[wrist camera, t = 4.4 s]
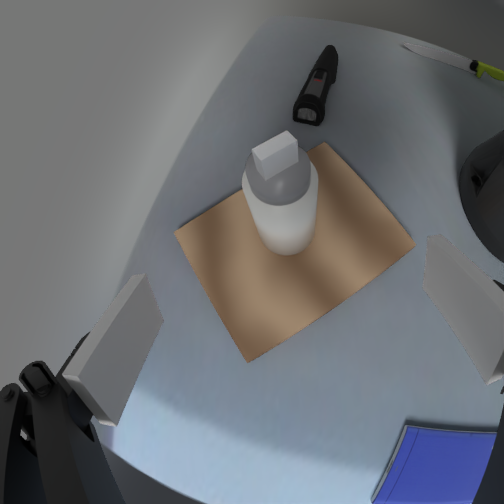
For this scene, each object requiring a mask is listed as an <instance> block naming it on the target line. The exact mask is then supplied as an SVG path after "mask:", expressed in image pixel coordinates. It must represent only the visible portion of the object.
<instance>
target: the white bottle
mask: <svg viewBox="0 0 504 504" xmlns="http://www.w3.org/2000/svg"><path fill="white" fill-rule="evenodd" d="M251 150H252V153H251V154H250V156H249V157H248V159H247V162H246V165H245V171H244V174H243V177H242V188H243V192H244V194H245V197H246V200H247V203H248V205H249V208H250V211H251V214H252V216H253V219H254V222H255V225H256V227H257V230H258V233H259V236H260V238H261V241H262V242H263V244H264V245H265V247H266V248H268V249H269V250H270V251H272V252H274V253H276V254H279V255H294V254H297V253H300V252H301V251H303V250H304V249H306V248H307V247H308V246H309V245H310V243H311V242H312V240H313V238H314V234H315V224H316V210H317V194H318V174H317V171H316V168H315V167H314V165H313V164H312V162H311V161H310V159H309V157H308V155H307V153H306V152H305V151H304V150H303V149H302V148H300V147H299V146H298V144H297V140H296V139H295V138H294V137H293V136H292V135H291V134H290V133H289V132H288V131H287V130H286V131H285V132H283V133H281V134H279V135H277V136H275V137H273V138H271V139H270V140H268V141H266V142H264V143H262V144H260V145H259V146H257V147H255V148H253V149H251Z"/></svg>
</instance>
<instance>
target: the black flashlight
mask: <svg viewBox="0 0 504 504" xmlns="http://www.w3.org/2000/svg"><path fill="white" fill-rule="evenodd" d="M337 65H338V54H337V51H336V49H335V47H334V46H332V45H328V46H326V48H325V49H324V51H323V52H322V54H321V55H320V57H319V58H318V60H317V62H316V64H315V65H314V67H313V69H312V71H311V72H310V74H309V77H308V79H307V81H306V83H305V85H304V87H303V88H302V90H301V92H300V94H299V96H298V99H297V101H296V102H295V104H294V107H293V120H294V121H295V122H299V123H304V124H309V125H314V126H318V125H319V124H320V123H322V121H323V119H324V115H325V106H324V105H325V101H326V97H327V94H328V90H329V88H330V85H331V84H333V83H335V80H336V73H337Z"/></svg>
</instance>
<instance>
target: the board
mask: <svg viewBox="0 0 504 504" xmlns="http://www.w3.org/2000/svg"><path fill="white" fill-rule="evenodd" d="M306 153H307V155H308V157H309V159H310V161H311V162H312V164H313V165H314V167H315V168H316V171H317V174H318V194H317V210H316V224H315V234H314V238H313V240H312V242H311V243H310V245H309V246H308V247H307V248H306V249H304V250H303V251H301V252H300V253H297V254H294V255H279V254H276V253H274V252H272V251H270V250H269V249H268V248H266V247H265V245H264V244H263V242H262V241H261V238H260V236H259V233H258V230H257V227H256V225H255V222H254V219H253V216H252V214H251V211H250V208H249V205H248V203H247V200H246V197H245V194H244V192H243V189H241V190H240V191H238V192H237V193H235V194H233V195H232V196H230V197H228V198H227V199H225V200H224V201H222V202H220V203H219V204H217V205H215V206H214V207H212V208H211V209H209V210H208V211H206V212H204V213H203V214H201V215H200V216H198V217H197V218H195V219H193V220H192V221H190V222H189V223H187V224H186V225H184V226H183V227H181V228H180V229H178V230H177V231H175V232H174V234H175V236H176V238H177V240H178V242H179V244H180V245H181V247H182V249H183V251H184V253H185V255H186V257H187V259H188V261H189V262H190V264H191V266H192V268H193V270H194V272H195V274H196V275H197V277H198V279H199V281H200V283H201V284H202V286H203V288H204V290H205V292H206V293H207V295H208V297H209V299H210V301H211V302H212V304H213V306H214V308H215V309H216V311H217V313H218V315H219V316H220V318H221V320H222V322H223V323H224V325H225V327H226V328H227V330H228V332H229V334H230V335H231V337H232V339H233V340H234V342H235V344H236V345H237V347H238V349H239V350H240V352H241V354H242V355H243V357H244V359H245V360H246V362H247V363H249V362H251V361H252V360H254V359H256V358H257V357H259V356H261V355H262V354H264V353H266V352H267V351H269V350H271V349H272V348H274V347H276V346H277V345H279V344H280V343H282V342H284V341H285V340H287V339H288V338H290V337H291V336H293V335H295V334H296V333H298V332H299V331H301V330H302V329H304V328H305V327H307V326H308V325H310V324H311V323H313V322H314V321H316V320H317V319H319V318H320V317H322V316H323V315H325V314H326V313H328V312H329V311H330V310H332V309H333V308H335V307H336V306H338V305H339V304H340V303H342V302H343V301H345V300H346V299H347V298H349V297H350V296H352V295H353V294H354V293H356V292H357V291H359V290H360V289H361V288H363V287H364V286H365V285H367V284H368V283H369V282H371V281H372V280H373V279H375V278H376V277H377V276H379V275H380V274H381V273H383V272H384V271H385V270H386V269H388V268H389V267H390V266H392V265H393V264H394V263H395V262H397V261H398V260H399V259H400V258H402V257H403V256H404V255H405V254H407V253H408V252H409V251H410V250H411V249H413V248H414V247H415V245H416V244H415V242H414V241H413V240H412V238H411V237H410V236H409V235H408V233H407V232H406V231H405V230H404V228H403V227H402V226H401V225H400V223H399V222H398V221H397V220H396V218H395V217H394V216H393V215H392V214H391V212H390V211H389V210H388V209H387V208H386V206H385V205H384V204H383V203H382V202H381V201H380V200H379V198H378V197H377V196H376V195H375V194H374V193H373V192H372V190H371V189H370V188H369V187H368V186H367V185H366V184H365V183H364V182H363V180H362V179H361V178H360V177H359V176H358V175H357V174H356V173H355V172H354V171H353V170H352V169H351V168H350V167H349V166H348V165H347V163H346V162H345V161H344V160H343V159H342V158H341V157H340V156H339V155H338V154H337V153H336V152H335V151H334V150H333V149H332V148H331V147H330V146H329V145H328V144H327V143H326V142H323V143H322V144H320V145H318V146H316V147H314V148H312V149H311V150H309V151H307V152H306Z"/></svg>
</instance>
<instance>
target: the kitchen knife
mask: <svg viewBox="0 0 504 504" xmlns="http://www.w3.org/2000/svg"><path fill="white" fill-rule="evenodd" d="M403 43H404V44H405V46H406V47H407V48H409V49H410V50H411V51H413V52H415V53H417V54H419V55H422V56H425V57H428V58H431V59H435V60H438V61H441V62H444V63H446V64H449V65H452V66H455V67H457V68H460V69H463V70H465V71H468V72H470V73H473V74H475V75H477V77H478V78H480V77H481V75H482V74H483V72H484V71H486V73H487V74H489V75H490V76H491V77H493V78H495V79H497V80H500V81H504V71H502V70H500V69H497V68H495V67H492V66H490V65H487V64H485V63H482V62H479V61H476V60H469V59H466V58H463V57H460V56H456V55H453V54H450V53H446V52H443V51H439V50H435V49H431V48H427V47H423V46H419V45H414V44H410V43H405V42H403Z"/></svg>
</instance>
